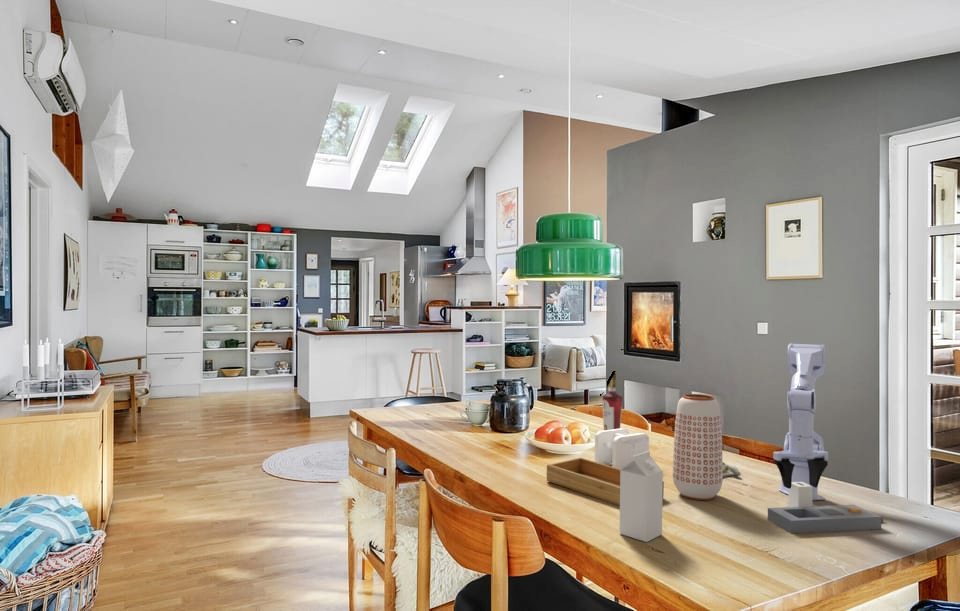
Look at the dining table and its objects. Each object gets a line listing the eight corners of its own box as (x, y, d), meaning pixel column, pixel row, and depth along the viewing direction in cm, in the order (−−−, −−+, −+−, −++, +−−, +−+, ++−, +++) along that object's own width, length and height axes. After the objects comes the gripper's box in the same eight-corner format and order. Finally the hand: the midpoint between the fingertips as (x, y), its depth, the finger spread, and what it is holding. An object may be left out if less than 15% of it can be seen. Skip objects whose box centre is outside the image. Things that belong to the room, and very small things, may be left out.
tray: (663, 500, 169) (663, 479, 169) (629, 511, 159) (630, 489, 159) (579, 474, 193) (580, 457, 193) (546, 483, 183) (546, 464, 183)
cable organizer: (626, 460, 209) (627, 427, 209) (650, 468, 200) (650, 433, 200) (594, 466, 202) (594, 431, 202) (616, 474, 193) (617, 437, 192)
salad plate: (756, 476, 193) (757, 462, 193) (716, 483, 185) (716, 468, 185) (709, 462, 210) (709, 449, 210) (670, 467, 202) (670, 454, 202)
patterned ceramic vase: (699, 486, 180) (700, 391, 180) (733, 500, 168) (734, 398, 168) (662, 490, 176) (663, 393, 175) (694, 505, 163) (695, 400, 163)
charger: (788, 508, 162) (788, 482, 162) (801, 507, 162) (802, 481, 162) (798, 513, 158) (798, 486, 158) (812, 513, 158) (812, 486, 158)
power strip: (791, 533, 144) (791, 518, 144) (767, 519, 153) (767, 505, 153) (897, 528, 148) (898, 513, 148) (868, 515, 157) (869, 501, 157)
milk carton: (619, 534, 142) (620, 453, 142) (635, 526, 147) (636, 448, 147) (646, 543, 137) (647, 459, 137) (662, 534, 142) (663, 453, 142)
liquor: (597, 445, 231) (598, 372, 231) (612, 443, 235) (613, 371, 235) (610, 449, 225) (611, 374, 225) (625, 447, 228) (626, 373, 228)
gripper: (785, 439, 155) (785, 492, 155) (837, 438, 157) (836, 490, 157) (768, 433, 162) (768, 484, 162) (817, 432, 164) (817, 482, 164)
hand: (800, 486), depth 160 cm, fingers open, 7 cm apart
